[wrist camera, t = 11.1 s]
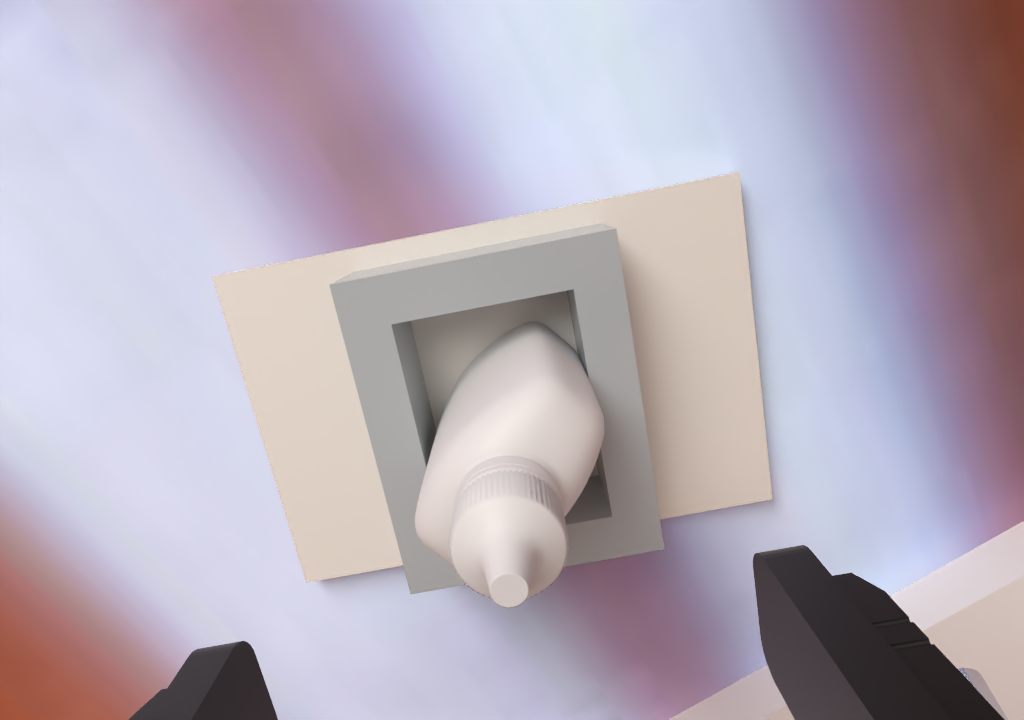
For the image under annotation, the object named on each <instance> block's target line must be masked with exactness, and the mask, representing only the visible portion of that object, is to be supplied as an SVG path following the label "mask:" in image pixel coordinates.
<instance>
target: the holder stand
mask: <svg viewBox="0 0 1024 720" xmlns="http://www.w3.org/2000/svg"><path fill="white" fill-rule="evenodd" d="M212 278H213V281H214V284H215V288H216V291H217V294H218V297H219V301H220V304H221V307H222V310H223V314H224V317H225V320H226V323H227V327H228V330H229V333H230V336H231V340H232V343H233V346H234V349H235V353H236V356H237V359H238V362H239V366H240V369H241V372H242V375H243V379H244V382H245V385H246V388H247V391H248V395H249V398H250V401H251V404H252V408H253V411H254V414H255V417H256V421H257V424H258V427H259V430H260V434H261V437H262V440H263V443H264V447H265V450H266V453H267V456H268V460H269V463H270V466H271V469H272V473H273V476H274V479H275V482H276V486H277V489H278V492H279V495H280V499H281V502H282V505H283V508H284V511H285V515H286V518H287V521H288V524H289V528H290V531H291V534H292V537H293V541H294V544H295V547H296V550H297V554H298V557H299V560H300V563H301V567H302V570H303V573H304V576H305V580H306V583H308V582H314V581H319V580H325V579H330V578H336V577H342V576H347V575H353V574H358V573H364V572H370V571H375V570H381V569H386V568H392V567H398V566H404V570H405V574H406V577H407V581H408V585H409V589H410V593H411V594H415V593H421V592H427V591H432V590H438V589H443V588H449V587H455V586H460V585H466V583H464V582H463V581H464V580H462V579H460V576H459V575H458V574H457V573H456V570H455V569H454V568H453V567H454V566H453V565H451V564H450V563H448V562H447V561H445V560H444V559H442V558H441V557H440V556H438V555H437V554H436V553H434V552H433V551H432V550H431V549H429V548H428V547H427V546H426V545H425V544H424V543H423V542H422V541H421V539H420V538H419V537H418V535H417V533H416V528H415V513H416V507H417V503H418V499H419V494H420V490H421V486H422V483H423V479H424V475H425V472H426V468H427V464H428V461H429V457H430V453H431V450H432V446H433V443H434V439H435V436H436V432H437V429H438V425H439V422H440V419H441V415H442V412H443V410H444V407H445V404H446V402H447V400H448V398H449V395H450V393H451V391H452V390H453V388H454V386H455V384H456V383H457V381H458V379H459V378H460V376H461V375H462V373H463V372H464V371H465V369H466V368H467V367H468V365H469V364H470V363H471V362H472V361H473V360H474V359H475V358H476V357H477V356H478V355H479V354H480V353H481V352H482V351H483V350H484V349H485V348H486V347H487V346H488V345H490V344H491V343H492V342H493V341H495V340H496V339H498V338H499V337H500V336H502V335H503V334H505V333H507V332H508V331H510V330H512V329H514V328H515V327H517V326H519V325H522V324H524V323H526V322H532V321H537V322H540V323H542V324H545V325H546V326H547V327H549V328H550V329H551V330H552V331H554V332H555V333H556V334H557V335H559V336H560V337H561V338H562V339H564V340H565V341H566V342H567V343H568V344H569V345H571V346H572V347H573V348H574V350H575V352H576V353H577V355H578V356H579V359H580V361H581V363H582V365H583V367H584V370H585V372H586V374H587V376H588V379H589V381H590V383H591V386H592V388H593V390H594V393H595V395H596V397H597V400H598V402H599V405H600V407H601V410H602V413H603V416H604V430H605V432H604V437H603V441H602V445H601V448H600V452H599V455H598V458H597V461H596V463H595V466H594V468H593V471H592V473H591V475H590V477H589V479H588V482H587V484H586V485H585V487H584V489H583V491H582V493H581V494H580V496H579V497H578V499H577V501H576V502H575V504H574V505H573V507H572V508H571V509H570V511H569V512H568V513H567V515H566V516H565V522H566V528H567V533H568V541H569V544H568V547H569V550H568V556H567V561H566V562H565V566H564V567H568V566H573V565H579V564H585V563H590V562H596V561H602V560H607V559H613V558H619V557H624V556H630V555H636V554H641V553H647V552H652V551H658V550H664V542H663V536H662V529H661V522H660V519H666V518H672V517H677V516H683V515H688V514H694V513H700V512H705V511H711V510H716V509H722V508H728V507H733V506H739V505H744V504H750V503H756V502H761V501H767V500H772V489H771V479H770V469H769V460H768V450H767V440H766V430H765V420H764V410H763V400H762V391H761V381H760V371H759V361H758V351H757V341H756V331H755V322H754V312H753V302H752V292H751V282H750V272H749V262H748V253H747V243H746V233H745V223H744V213H743V203H742V193H741V184H740V174H739V172H738V173H729V174H724V175H719V176H714V177H709V178H704V179H699V180H694V181H689V182H684V183H679V184H673V185H668V186H663V187H658V188H653V189H648V190H643V191H638V192H633V193H628V194H623V195H618V196H613V197H608V198H603V199H598V200H593V201H588V202H582V203H577V204H572V205H567V206H562V207H557V208H552V209H547V210H542V211H537V212H532V213H527V214H522V215H517V216H512V217H507V218H502V219H497V220H492V221H486V222H481V223H476V224H471V225H466V226H461V227H456V228H451V229H446V230H441V231H436V232H431V233H426V234H421V235H416V236H411V237H406V238H401V239H395V240H390V241H385V242H380V243H375V244H370V245H365V246H360V247H355V248H350V249H345V250H340V251H335V252H330V253H325V254H320V255H315V256H310V257H305V258H299V259H294V260H289V261H284V262H279V263H274V264H269V265H264V266H259V267H254V268H249V269H244V270H239V271H234V272H229V273H224V274H220V275H216V276H213V277H212Z"/></svg>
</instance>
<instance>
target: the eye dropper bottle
mask: <svg viewBox="0 0 1024 720" xmlns="http://www.w3.org/2000/svg"><path fill="white" fill-rule="evenodd" d="M604 432H605V430H604V416H603V413H602V410H601V407H600V405H599V402H598V400H597V397H596V395H595V393H594V390H593V388H592V386H591V383H590V381H589V379H588V376H587V374H586V372H585V370H584V367H583V365H582V363H581V361H580V359H579V356H578V355H577V353H576V352H575V350H574V348H573V347H572V346H571V345H569V344H568V343H567V342H566V341H565V340H564V339H562V338H561V337H560V336H559V335H557V334H556V333H555V332H554V331H552V330H551V329H550V328H549V327H547V326H546V325H545V324H542V323H540V322H537V321H532V322H526V323H524V324H522V325H519V326H517V327H515V328H514V329H512V330H510V331H508V332H507V333H505V334H503V335H502V336H500V337H499V338H498V339H496V340H495V341H493V342H492V343H491V344H490V345H488V346H487V347H486V348H485V349H484V350H483V351H482V352H481V353H480V354H479V355H478V356H477V357H476V358H475V359H474V360H473V361H472V362H471V363H470V364H469V365H468V367H467V368H466V369H465V371H464V372H463V373H462V375H461V376H460V378H459V379H458V381H457V383H456V384H455V386H454V388H453V390H452V391H451V393H450V395H449V398H448V400H447V402H446V404H445V407H444V410H443V412H442V415H441V419H440V422H439V425H438V429H437V432H436V436H435V439H434V443H433V446H432V450H431V453H430V457H429V461H428V464H427V468H426V472H425V475H424V479H423V483H422V486H421V490H420V494H419V499H418V503H417V507H416V513H415V528H416V533H417V535H418V537H419V538H420V539H421V541H422V542H423V543H424V544H425V545H426V546H427V547H428V548H429V549H431V550H432V551H433V552H434V553H436V554H437V555H438V556H440V557H441V558H442V559H444V560H445V561H447V562H448V563H450V564H451V565H453V566H454V567H453V568H454V569H455V570H456V573H457V574H458V575H459V576H460V579H462V580H464V581H463V582H464V583H466V584H468V587H470V588H472V590H474V591H477V593H480V594H482V595H483V596H487V597H489V598H492V599H493V600H494V602H495V603H497V604H498V605H500V606H502V607H508V608H511V607H516V606H518V605H520V604H522V603H523V602H524V601H525V600H526V598H527V597H531V596H532V595H536V594H537V593H539V592H542V590H543V589H546V588H547V586H549V585H551V583H552V582H553V581H555V580H556V578H557V577H558V576H559V573H560V572H562V568H563V567H564V566H565V562H566V561H567V556H568V550H569V547H568V544H569V541H568V533H567V528H566V522H565V516H566V515H567V513H568V512H569V511H570V509H571V508H572V507H573V505H574V504H575V502H576V501H577V499H578V497H579V496H580V494H581V493H582V491H583V489H584V487H585V485H586V484H587V482H588V479H589V477H590V475H591V473H592V471H593V468H594V466H595V463H596V461H597V458H598V455H599V452H600V448H601V445H602V441H603V437H604Z"/></svg>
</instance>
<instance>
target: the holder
mask: <svg viewBox="0 0 1024 720" xmlns="http://www.w3.org/2000/svg"><path fill="white" fill-rule="evenodd" d="M890 597H891V598H892V599H893V601H894V602H895V603H896V604H897V605H898V606H899V607H900V608H901V609H902V610H903V611H904V612H905V613H906V614H907V616H908V617H909V620H910V622H914V623H915V624H916V625H917V626H918V627H919V628H920V629H921V631H922V632H923V633H924V634H925V635H926V636H927V637H928V638H929V641H930V643H931V644H935V646H936V647H937V648H938V649H939V650H940V651H941V652H942V653H943V654H944V655H945V656H946V657H947V658H948V659H949V661H950V662H951V663H952V664H953V665H954V666H955V667H956V668H957V669H959V668H963V669H964V671H965V673H966V674H967V676H968V677H969V679H970V681H971V682H972V684H973V686H974V687H975V688H976V689H977V691H978V692H979V693H980V694H981V695H982V696H983V697H984V698H985V699H986V700H987V701H988V702H989V703H990V704H991V706H992V707H993V708H994V709H995V710H996V711H997V712H998V713H999V714H1000V715H1001V716H1002V717H1003V718H1004V719H1005V720H1024V521H1023V522H1021V523H1019V524H1018V525H1016V526H1014V527H1012V528H1010V529H1009V530H1007V531H1005V532H1003V533H1002V534H1000V535H998V536H996V537H994V538H993V539H991V540H989V541H987V542H985V543H984V544H982V545H980V546H978V547H976V548H975V549H973V550H971V551H969V552H968V553H966V554H964V555H962V556H960V557H959V558H957V559H955V560H953V561H951V562H950V563H948V564H946V565H944V566H942V567H941V568H939V569H937V570H935V571H934V572H932V573H930V574H928V575H926V576H925V577H923V578H921V579H919V580H917V581H916V582H914V583H912V584H910V585H909V586H907V587H905V588H903V589H901V590H900V591H898V592H896V593H894V594H892V595H891V596H890ZM669 720H795V719H794V717H793V715H792V713H791V712H790V710H789V708H788V706H787V704H786V702H785V701H784V699H783V697H782V695H781V693H780V691H779V689H778V688H777V686H776V684H775V682H774V680H773V678H772V675H771V673H770V670H769V667H768V664H767V665H765V666H764V667H762V668H760V669H758V670H756V671H755V672H753V673H751V674H749V675H748V676H746V677H744V678H742V679H740V680H739V681H737V682H735V683H733V684H731V685H730V686H728V687H726V688H724V689H722V690H721V691H719V692H717V693H715V694H714V695H712V696H710V697H708V698H706V699H705V700H703V701H701V702H699V703H697V704H696V705H694V706H692V707H690V708H688V709H687V710H685V711H683V712H681V713H680V714H678V715H676V716H674V717H672V718H671V719H669Z"/></svg>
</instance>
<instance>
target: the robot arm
mask: <svg viewBox="0 0 1024 720" xmlns="http://www.w3.org/2000/svg"><path fill="white" fill-rule="evenodd" d="M753 569H754V578H755V588H756V597H757V606H758V615H759V625H760V634H761V641H762V646H763V651H764V654H765V658H766V661H767V664H768V667H769V670H770V673H771V675H772V678H773V680H774V682H775V684H776V686H777V688H778V689H779V691H780V693H781V695H782V697H783V699H784V701H785V702H786V704H787V706H788V708H789V710H790V712H791V713H792V715H793V717H794V719H795V720H1005V719H1004V718H1003V717H1002V716H1001V715H1000V714H999V713H998V712H997V711H996V710H995V709H994V708H993V707H992V706H991V704H990V703H989V702H988V701H987V700H986V699H985V698H984V697H983V696H982V695H981V694H980V693H979V692H978V691H977V689H976V688H975V687H974V686H973V685H972V684H971V683H970V682H969V681H968V680H967V679H966V678H965V677H964V676H963V674H962V673H961V672H960V671H959V670H958V669H957V668H956V667H955V666H954V665H953V664H952V663H951V662H950V661H949V659H948V658H947V657H946V656H945V655H944V654H943V653H942V652H941V651H940V650H939V649H938V648H937V647H936V646H935V644H931V643H930V641H929V638H928V637H927V636H926V635H925V634H924V633H923V632H922V631H921V629H920V628H919V627H918V626H917V625H916V624H915V623H914V622H910V620H909V617H908V616H907V614H906V613H905V612H904V611H903V610H902V609H901V608H900V607H899V606H898V605H897V604H896V603H895V602H894V601H893V599H892V598H891V597H890V596H889V595H888V594H887V593H886V592H885V591H883V590H881V589H880V588H878V587H876V586H874V585H872V584H871V583H869V582H867V581H865V580H863V579H862V578H860V577H858V576H856V575H854V574H853V573H847V574H841V575H835V576H832V575H831V574H830V573H829V572H828V570H827V569H826V568H825V567H824V566H823V564H822V563H821V562H820V561H819V560H818V558H817V557H816V556H815V555H814V554H813V552H812V551H811V550H810V549H809V548H808V547H807V546H804V545H801V546H796V547H790V548H784V549H778V550H773V551H767V552H761V553H756V554H755V555H754V558H753ZM129 720H278V719H277V715H276V713H275V710H274V707H273V704H272V701H271V698H270V695H269V692H268V690H267V687H266V684H265V681H264V678H263V675H262V672H261V669H260V667H259V664H258V661H257V658H256V655H255V653H254V650H253V648H252V647H251V645H250V644H249V643H247V642H245V641H241V642H235V643H230V644H224V645H218V646H212V647H207V648H201V649H197V650H195V651H193V652H192V653H191V654H190V656H189V657H188V658H187V660H186V661H185V663H184V664H183V666H182V667H181V669H180V670H179V672H178V673H177V675H176V676H175V678H174V679H173V681H172V682H171V684H170V685H169V687H168V688H167V689H162V690H160V691H159V692H158V693H157V694H156V695H155V696H154V697H153V698H152V699H151V700H150V701H148V702H147V703H146V704H145V705H144V706H143V707H142V708H141V709H140V710H139V711H137V712H136V713H135V714H134V715H133V716H132V717H131V718H130V719H129Z"/></svg>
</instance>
